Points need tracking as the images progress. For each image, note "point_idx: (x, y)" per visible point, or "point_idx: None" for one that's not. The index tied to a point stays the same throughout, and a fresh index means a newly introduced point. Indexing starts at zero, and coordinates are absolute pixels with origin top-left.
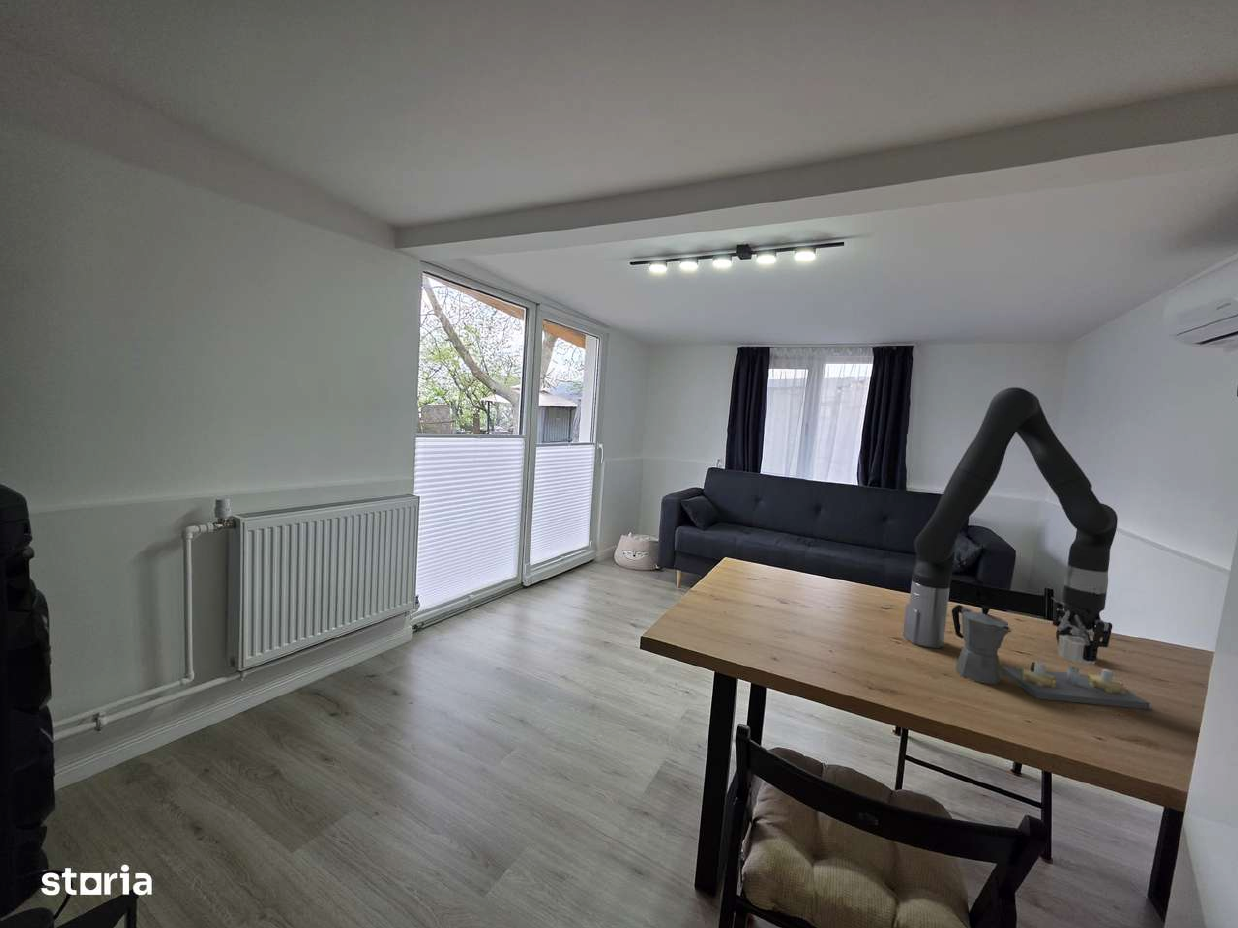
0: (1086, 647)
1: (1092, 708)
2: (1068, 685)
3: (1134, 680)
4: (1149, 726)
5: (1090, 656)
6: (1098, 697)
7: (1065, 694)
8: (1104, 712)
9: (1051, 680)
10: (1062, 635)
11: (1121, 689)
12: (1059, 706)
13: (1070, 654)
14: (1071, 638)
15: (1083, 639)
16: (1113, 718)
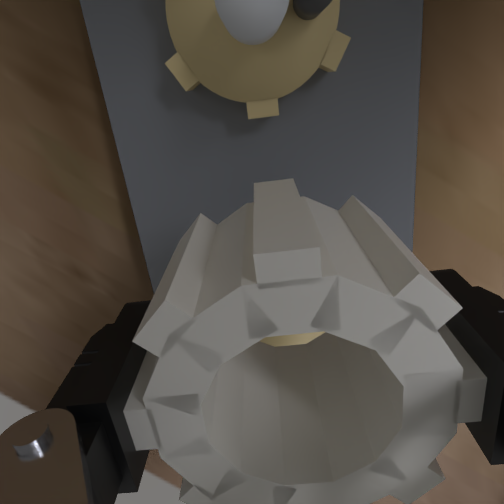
0: (84, 385)
1: (92, 193)
2: (246, 187)
3: (430, 498)
4: (30, 329)
5: (85, 348)
6: (149, 260)
7: (107, 93)
8: (74, 225)
9: (183, 58)
10: (482, 343)
11: None
12: (25, 12)
13: (217, 240)
14: (397, 393)
15: (359, 486)
16: (29, 230)
